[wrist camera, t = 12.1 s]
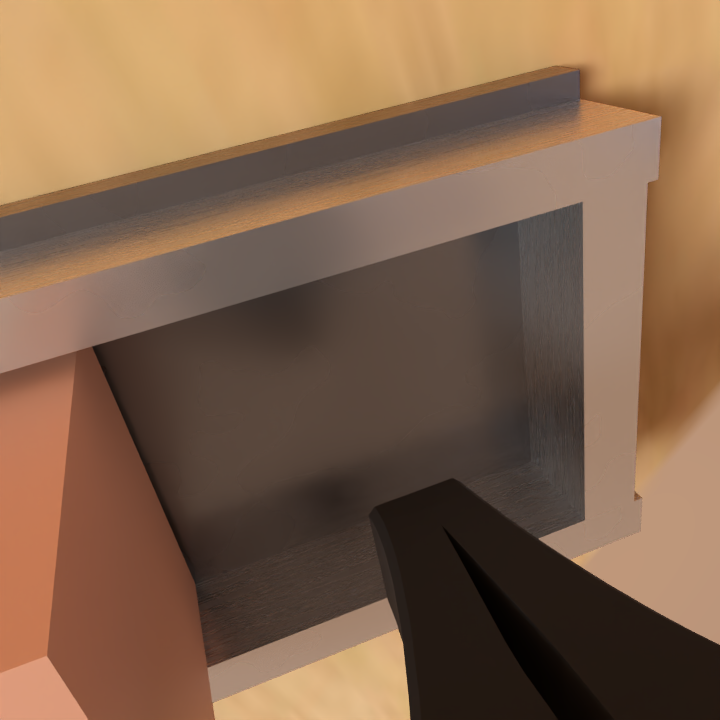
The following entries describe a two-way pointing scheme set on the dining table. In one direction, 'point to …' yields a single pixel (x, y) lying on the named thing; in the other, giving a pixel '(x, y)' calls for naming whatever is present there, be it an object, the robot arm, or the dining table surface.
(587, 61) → the dining table surface
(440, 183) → the pusher lane
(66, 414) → the plate
